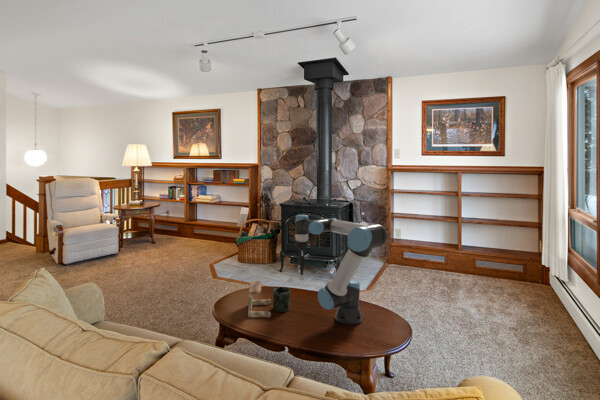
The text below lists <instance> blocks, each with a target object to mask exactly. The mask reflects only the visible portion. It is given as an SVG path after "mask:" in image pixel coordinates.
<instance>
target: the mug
mask: <svg viewBox="0 0 600 400" xmlns="http://www.w3.org/2000/svg"><path fill="white" fill-rule="evenodd" d="M291 290H292V289H290V288H289V287H285V286H279V287H274V288H273V289H272V293H273V297H272V298H273V307H272V308H273V310H274V311H275V312H278V313H285V312H288V311H289V310H290V309H291V308H290V307H291Z"/></svg>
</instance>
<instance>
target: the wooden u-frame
mask: <svg viewBox="0 0 600 400" xmlns="http://www.w3.org/2000/svg"><path fill="white" fill-rule="evenodd" d="M261 293H262V280H251V281H250V283H249V290H248V295H247V298H248V299H247V301H248V310H247V312H248V315H247V316H248V318H270V319H271V317H272V314H271V313H272V312H271V311H266V310H264V311H263V310H262V311H261V310H260V311H259V310H258V311H253V306H269V305H271V304H272V303H271V301H272V300H271V298H268V299H254V296H253V295H256V294H261Z"/></svg>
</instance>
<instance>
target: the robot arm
mask: <svg viewBox="0 0 600 400" xmlns="http://www.w3.org/2000/svg"><path fill="white" fill-rule="evenodd" d="M294 227H295V230H294V232H295V234H294V238H295V241H294V246H295V248H297V256H298V257H297V260H298V261H297V264H298V265H297V266H298V267H297V272H298V273H297V276H298V277H299V278H298V279H299V280H298V281H304V280H305V257H306V256H305V254H306V251H305V249H307V248H308V245H309V244H308V243H309V241H308V240H309V234H311V235H320V234H321V233H326V232H331V233H335V234H340V235H346V236H347V238H346V239H347V241H346V242H347V248H348V249H347V252H345V255H344V257H343V259H342V261H341V262H340V264H339V266H338V268H337V270H336V272H335V274H334V275H333V278H332V279H329V280H328V281H327V283H326V284H325V286H324V287H321V288H320V289H318V290H317V291H318V292H317V300H318V303H319V304H320V306H321V307H322V308H324V309H325V310H333V309H335V308H337V309H336V312H335V316H334V317H335V320H336V322H338V323H340V324H343V325H348V326H349V325H350V326H351V325H358V324H360V323H362V321H363V320H362V319H363V316H362V313H361V308H360V293H361V292H360V291H361V286H360V282H359V281H358V280H355V279H353V278H354V275H355V274H356V272H357V271H358V268H359V266H360V265H361V263H362V261H363V260H364V258H367V257H368V256H369V255H370V254H371V252H372V250H373V249H376V248H381V247H383V246H384V245H385V244H386V243H387V241H388V239H389V233H388V230H387V228H386V227H385V226H383V224H382V225H381V224H378V223H376V224H375V223H368V224H363V223H357V222H352V221H345V220H339V219H337V218H336V217H335V218H334V217H329V218H324V219H323V218H322V219H309V216H308V215H307V214H297V215H295V226H294Z"/></svg>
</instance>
